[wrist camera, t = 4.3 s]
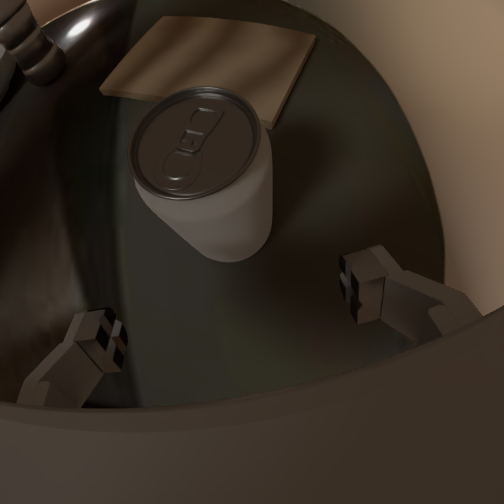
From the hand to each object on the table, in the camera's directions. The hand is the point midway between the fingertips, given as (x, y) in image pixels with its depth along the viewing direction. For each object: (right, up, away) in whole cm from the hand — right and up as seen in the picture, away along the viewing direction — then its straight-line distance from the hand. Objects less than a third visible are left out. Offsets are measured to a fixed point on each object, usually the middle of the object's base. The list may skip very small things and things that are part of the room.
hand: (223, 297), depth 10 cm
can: (-1, +4, +13) cm, 14 cm away
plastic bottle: (-28, +27, +20) cm, 43 cm away
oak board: (-4, +22, +17) cm, 28 cm away
